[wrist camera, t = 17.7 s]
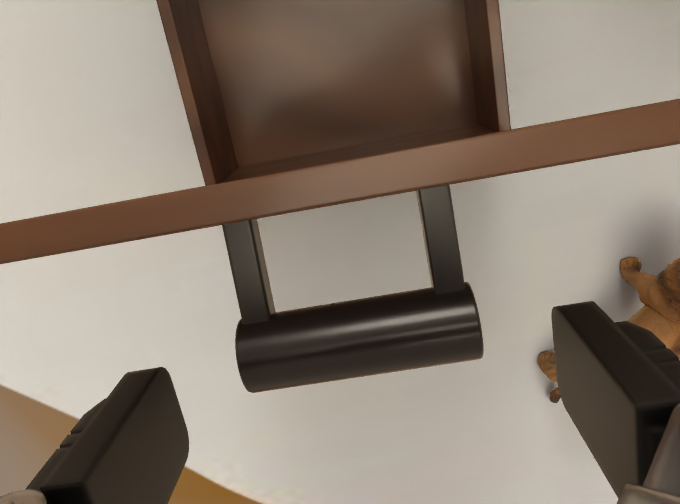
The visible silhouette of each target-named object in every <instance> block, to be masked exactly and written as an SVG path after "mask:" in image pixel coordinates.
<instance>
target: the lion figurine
mask: <svg viewBox="0 0 680 504" xmlns="http://www.w3.org/2000/svg"><path fill="white" fill-rule="evenodd" d="M640 269H641V263H640V262H639V261H638V259H637V258H636V257H628V258H626V259H623V260H621V263H620V270H621V274H622V276H623V277H624V278H625V279H626V281H627V282H628V283H629V284H631V285H633V286H634V287H635V288H636V290H637V292H638V294H639V297H640V300H641V302H642V303H643V304H644V305H645V306H644V307H643V308H641V309H640V310H639V311H638V312H637V313H636V314H635V315H634V316H633V317H632V318H631V319H630V320H629V321H628V322H631V323H633V324H635V325H638V326H640V327H642V328H645V329H647V330H649V331H651V332H652V333H653V334H654V335H655V336H656V337H658V338H659V339H660V340H661V341H662V342H663V343H664V344H665V345H666V348H669V349H670V350H671V351H673V352H674V353H675V354H676V355H677V356H678V357H679V360H680V258H679V259H676V260H675V261H674V262H673V263H672V264H669V265H668V266H667V270H665V271H663V272H662V273H661V274H660V275H659V277H657V276H653V275H650V274H647V273H642V272H640ZM538 365H539V367H540V369H541V370H542V372H543V373H544V374H545V375H546V376H547V377H548V378H549V379H550V380H552V381H557V376H556V365H555V353H554V352H549V351H546V352H543V353H541V354H540V355H539V358H538ZM560 398H561V396H560V392H559V388H555V389H554V390H552V391H551V392H550V401H551V402H553V403H557V402H558V401H559V399H560Z"/></svg>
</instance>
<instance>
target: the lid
mask: <svg viewBox="0 0 680 504" xmlns="http://www.w3.org/2000/svg"><path fill="white" fill-rule="evenodd" d="M676 144H680V99H675V100H670V101H664V102H659V103H653V104H648V105H642V106H637V107H631V108H626V109H621V110H615V111H610V112H604V113H599V114H593V115H588V116H583V117H577V118H572V119H566V120H561V121H555V122H550V123H545V124H539V125H534V126H528V127H523V128H517V129H512V130H507V131H501V132H496V133H490V134H485V135H479V136H474V137H468V138H463V139H458V140H452V141H447V142H441V143H436V144H430V145H425V146H420V147H414V148H409V149H403V150H398V151H392V152H387V153H382V154H376V155H371V156H365V157H360V158H354V159H349V160H344V161H338V162H333V163H327V164H322V165H316V166H311V167H305V168H300V169H295V170H289V171H284V172H278V173H273V174H267V175H262V176H257V177H251V178H246V179H240V180H235V181H229V182H224V183H219V184H213V185H208V186H202V187H197V188H191V189H186V190H180V191H175V192H170V193H164V194H159V195H153V196H148V197H142V198H137V199H132V200H126V201H121V202H115V203H110V204H104V205H99V206H94V207H88V208H83V209H77V210H72V211H66V212H61V213H56V214H50V215H45V216H39V217H34V218H28V219H23V220H17V221H12V222H7V223H1V224H0V264H4V263H10V262H15V261H21V260H27V259H32V258H38V257H44V256H49V255H55V254H60V253H66V252H72V251H77V250H83V249H89V248H94V247H100V246H106V245H111V244H117V243H123V242H128V241H134V240H140V239H145V238H151V237H156V236H162V235H168V234H173V233H179V232H185V231H190V230H196V229H202V228H207V227H213V226H219V225H222V227H223V232H224V236H225V241H226V246H227V251H228V256H229V260H230V265H231V270H232V275H233V279H234V284H235V289H236V294H237V299H238V303H239V308H240V313H241V318H242V319H241V320H240V321H239V322H238V325H237V329H236V338H235V348H236V358H237V364H238V369H239V373H240V376H241V379H242V382H243V384H244V386H245V388H246V389H247V390H248V391H249V392H252V393H255V392H262V391H269V390H275V389H282V388H289V387H296V386H302V385H309V384H316V383H322V382H329V381H336V380H343V379H349V378H356V377H363V376H369V375H376V374H383V373H390V372H396V371H403V370H410V369H417V368H423V367H430V366H437V365H443V364H450V363H457V362H464V361H470V360H477V359H481V358H482V357H483V337H482V330H481V324H480V318H479V313H478V308H477V304H476V300H475V297H474V293H473V291H472V288H471V286H470V284H469V283H468V282H464V277H463V271H462V264H461V258H460V251H459V245H458V238H457V232H456V225H455V218H454V212H453V205H452V199H451V192H450V186H449V185H450V184H456V183H461V182H467V181H473V180H478V179H484V178H490V177H495V176H501V175H506V174H512V173H518V172H523V171H529V170H535V169H540V168H546V167H552V166H557V165H563V164H569V163H574V162H580V161H586V160H591V159H597V158H602V157H608V156H614V155H619V154H625V153H631V152H636V151H642V150H648V149H653V148H659V147H665V146H670V145H676ZM411 191H416V192H417V198H418V204H419V210H420V217H421V223H422V229H423V235H424V241H425V248H426V254H427V260H428V266H429V272H430V279H431V285H432V287H431V288H425V289H418V290H412V291H406V292H400V293H394V294H387V295H381V296H375V297H369V298H363V299H356V300H350V301H344V302H338V303H332V304H325V305H319V306H313V307H307V308H301V309H294V310H288V311H282V312H275V307H274V302H273V297H272V292H271V287H270V282H269V277H268V272H267V267H266V262H265V257H264V252H263V247H262V242H261V237H260V232H259V227H258V222H257V219H258V218H264V217H269V216H275V215H281V214H286V213H292V212H298V211H303V210H309V209H315V208H320V207H326V206H331V205H337V204H343V203H348V202H354V201H360V200H365V199H371V198H377V197H382V196H388V195H394V194H399V193H405V192H411Z"/></svg>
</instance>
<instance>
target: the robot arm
mask: <svg viewBox="0 0 680 504" xmlns="http://www.w3.org/2000/svg"><path fill="white" fill-rule="evenodd" d="M552 329H553V341H554V353H555V365H556V376H557V383H558V388H559V392H560V396H561V399H562V401H563V404H564V406H565V408H566V410H567V412H568V414H569V415H570V417H571V419H572V420H573V422H574V424H575V425H576V427H577V429H578V431H579V432H580V434H581V436H582V437H583V439H584V441H585V442H586V444H587V446H588V448H589V449H590V451H591V453H592V454H593V456H594V458H595V459H596V461H597V463H598V465H599V466H600V468H601V470H602V471H603V473H604V475H605V476H606V478H607V480H608V482H609V483H610V485H611V487H612V488H613V490H614V492H615V493H616V495H617V497H618V499H619V500H618V502H617V504H680V360H679V357H678V356H677V355H676V354H675V353H674V352H673V351H671V350H670V349H669V348H666V345H665V344H664V343H663V342H662V341H661V340H660V339H659V338H658V337H656V336H655V335H654V334H653V333H652V332H651V331H649V330H647V329H645V328H642V327H640V326H638V325H635V324H633V323H631V322H628V321H622V322H616V323H614V322H613V321H612V320H611V319H610V317H609V316H608V315H607V314H606V313H605V312H604V311H603V310H602V309H601V308H600V307H599V306H598V305H597V304H596V303H595V302H593V301H589V302H583V303H576V304H570V305H563V306H557V307H554V308H553V309H552ZM188 452H189V437H188V431H187V427H186V424H185V421H184V418H183V415H182V411H181V408H180V405H179V402H178V399H177V396H176V392H175V389H174V386H173V383H172V380H171V377H170V375H169V373H168V371H167V370H166V369H165V368H163V367H159V368H152V369H146V370H140V371H133V372H128V373H126V374H125V375H124V376H123V378H122V379H121V380H120V382H119V383H118V384H117V386H116V387H115V388H114V390H113V391H112V392H111V393H110V395H109V396H108V397H107V399H104V400H103V401H101V402H100V403H99V404H97V405H96V406H95V407H93V408H92V409H91V410H90V411H88V412H87V413H86V414H84V415H83V417H82V418H81V419H80V420H79V422H78V423H77V424H76V426H75V427H74V428H73V429H72V431H71V435H68V436H67V437H66V438H65V440H64V441H63V442H62V443H61V445H60V449H57V450H56V451H55V452H54V454H53V455H52V456H51V457H50V459H49V460H48V461H47V462H46V464H45V465H44V466H43V468H42V469H41V470H40V471H39V473H38V474H37V475H36V476H35V478H34V479H33V480H32V482H31V483H30V484H29V485H28V487H27V488H26V489H25V490H19V491H15V492H11V493H8V494H5V495H2V496H0V504H168V502H169V500H170V497H171V495H172V493H173V490H174V488H175V486H176V484H177V481H178V479H179V477H180V474H181V472H182V470H183V468H184V465H185V463H186V461H187V457H188Z"/></svg>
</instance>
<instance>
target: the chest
mask: <svg viewBox="0 0 680 504" xmlns="http://www.w3.org/2000/svg"><path fill="white" fill-rule="evenodd" d="M156 1H157V5H158V8H159V12H160V16H161V20H162V24H163V27H164V31H165V35H166V39H167V42H168V46H169V50H170V54H171V57H172V61H173V65H174V69H175V73H176V76H177V80H178V84H179V88H180V91H181V95H182V99H183V103H184V106H185V110H186V114H187V118H188V122H189V125H190V129H191V133H192V137H193V140H194V144H195V148H196V152H197V155H198V159H199V163H200V167H201V171H202V174H203V178H204V182H205V186H208V185H213V184H219V183H224V182H229V181H235V180H240V179H246V178H251V177H257V176H262V175H267V174H273V173H278V172H284V171H289V170H295V169H300V168H305V167H311V166H316V165H322V164H327V163H333V162H338V161H344V160H349V159H354V158H360V157H365V156H371V155H376V154H382V153H387V152H392V151H398V150H403V149H409V148H414V147H420V146H425V145H430V144H436V143H441V142H447V141H452V140H458V139H463V138H468V137H474V136H479V135H485V134H490V133H496V132H501V131H507V130H511V126H510V115H509V105H508V95H507V84H506V74H505V64H504V53H503V43H502V33H501V22H500V12H499V2H498V0H156Z"/></svg>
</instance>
